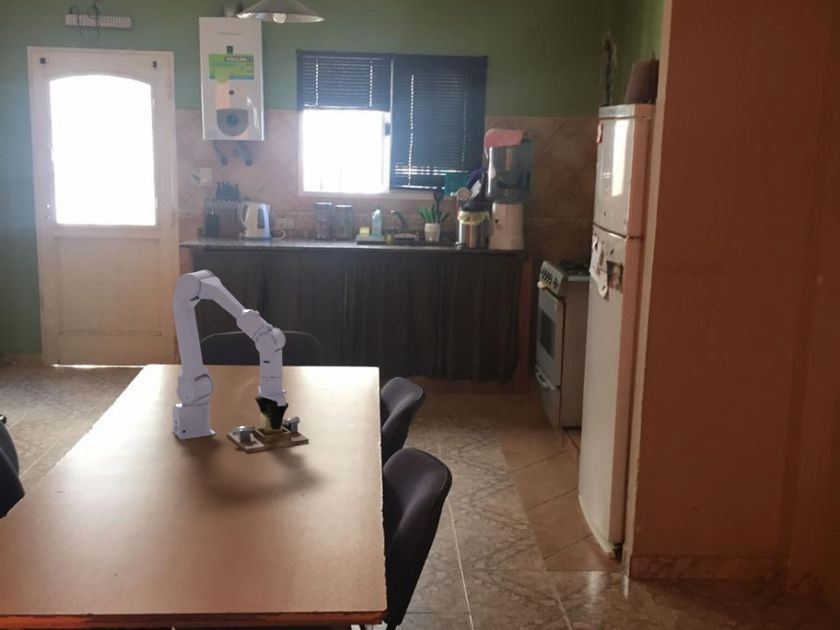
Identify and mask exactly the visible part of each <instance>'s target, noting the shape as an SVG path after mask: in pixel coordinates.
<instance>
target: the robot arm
mask: <svg viewBox="0 0 840 630" xmlns="http://www.w3.org/2000/svg"><path fill="white" fill-rule="evenodd" d="M174 288H175V290H174V293H173V298H172V299H171V300H172V301H171V306H172V307H171V308H172V314H173V319H174V326H175V331H176V337H177V343H178V351H179V358H180V362H181V370H180V371H179V373H178V375H177V387H176V390H175V391H176V397H177V398H178V399H179V401H180V403H176V404H174V405H173V407H172V428H173V429H172V433H173V434H175V436H176V437H177V438H178V439H179V440H180V441H181V440H188V439H195V438H202V437H208V436H215V435H216V432H215V431H214V430H213V429H212V428H211V404H210V403H211V402H210V400H211V396H210V395H211V394H212V393H213V392H214V389H215V382H214V380H213V379H212V377H211V375H210V370H209V368H208V367H206V366H205V365H204V364H203V363H204V362H203V357H202V356H203V355H202V349H201V344H200V338H199V337H200V336H199V331H198V325H197V318H196V311H195V306H196V305H197V304H198V303H199V302H200V301H201V300H202V299H204V300H213V301H214V302H216V304H218V305H219V306H221V307H222V308H223V309H224V310H225V311H227V312H228V313H229V314H230V315H232V317H234V318H235V319H236V325H237V326H236V327H238V328H239V329H240V330H241V331H242V332H244V333H245V334H246V336H248V337H249V338H250V339H251V340H252V341H253V342H255V343H254V345H255V348H256V350H257V351H258V353H259V374H260V375H259V379H260V380H259V383H260V384H259V385H258V386H257V394H258V395H259V396H256V397H255V398H254V399H255V401H256V403H257V405H258V408H259V411H260V413H261V412H263V411H269V415H270V420H271V427H272V429H273V430H276V429H280V428H281V425H282V420H284V417H285V413H286V411H287V409H288V408H289V403H288V402H287V398H286V397H285V395H286V394H287V393H288V392H287V389H284V388H283V349H282V348H283V347H285V344H286V339H287V338H286V335H285V334H284V332H283V331H282V329H280V328H278V327H274V326H273V325H272V324H270V323H268V322H267V321H266V320H265V319H264V318H262V317H261V316H260V312H259V311H258V310H254V309H247V308H246V307H244V306H243V304H241V303H240V301H239V300H237V299H236V297H234V295H233V294H232V293H231V292H230V291H229V290H228V289H227V288H226V286H224V285H223V284H222V282H221V280H220V278H218V277H217V276H215V275H214V274H213V272H211V270H210V271H209V269H202V270H199V271H196V272H191V273H184V274H182V275H181V276H179V278H178V279H177V280H176V281H175V282H174Z"/></svg>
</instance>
